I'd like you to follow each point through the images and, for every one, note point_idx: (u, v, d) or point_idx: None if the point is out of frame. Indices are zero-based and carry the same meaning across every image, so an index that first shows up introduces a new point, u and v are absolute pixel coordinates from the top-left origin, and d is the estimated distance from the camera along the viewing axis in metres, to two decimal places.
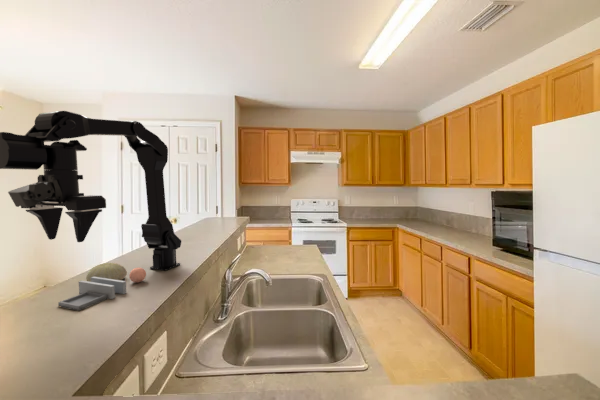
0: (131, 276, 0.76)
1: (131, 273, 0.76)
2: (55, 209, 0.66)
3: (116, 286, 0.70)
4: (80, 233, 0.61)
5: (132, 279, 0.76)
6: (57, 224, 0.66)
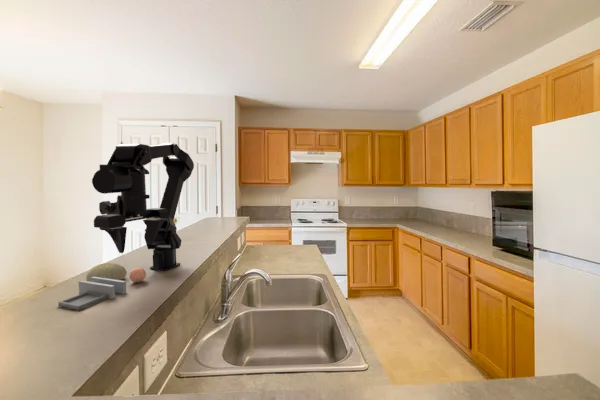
0: (131, 276, 0.76)
1: (131, 273, 0.76)
2: (154, 221, 0.81)
3: (116, 286, 0.70)
4: (117, 245, 0.72)
5: (132, 279, 0.76)
6: (153, 233, 0.81)
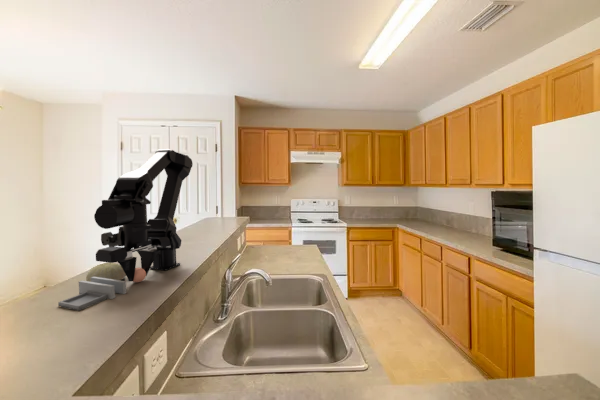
0: None
1: None
2: (148, 252, 0.79)
3: (116, 286, 0.70)
4: (127, 274, 0.75)
5: None
6: (147, 265, 0.79)
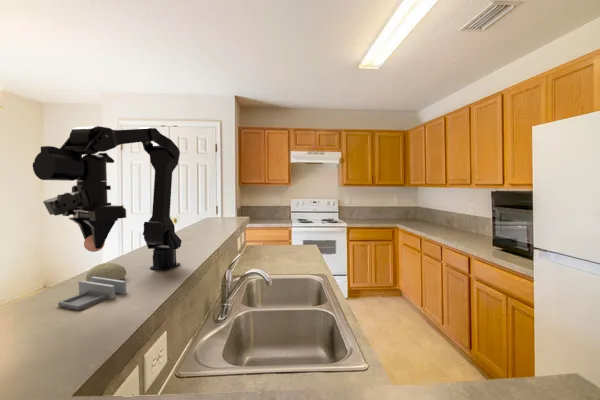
0: None
1: None
2: None
3: (116, 286, 0.70)
4: (97, 240, 0.65)
5: None
6: None
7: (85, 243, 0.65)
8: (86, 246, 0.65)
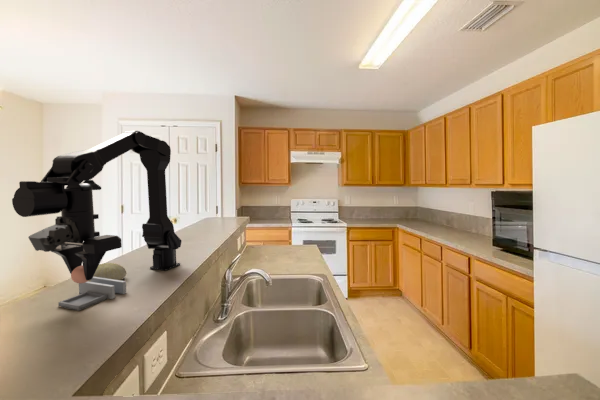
0: None
1: None
2: (78, 247, 0.66)
3: (116, 286, 0.70)
4: (89, 272, 0.63)
5: None
6: (80, 262, 0.67)
7: (74, 276, 0.63)
8: (75, 279, 0.63)
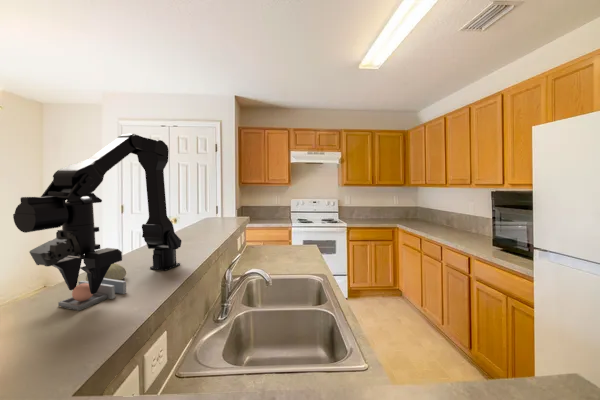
0: (89, 292, 0.64)
1: (86, 289, 0.64)
2: (75, 259, 0.67)
3: (116, 286, 0.70)
4: (94, 285, 0.63)
5: (89, 295, 0.65)
6: (77, 274, 0.67)
7: (75, 294, 0.63)
8: (76, 297, 0.63)
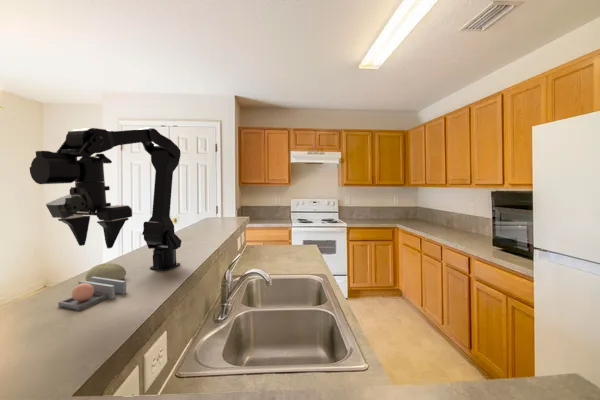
0: (88, 292, 0.64)
1: (86, 289, 0.64)
2: (84, 217, 0.71)
3: (116, 286, 0.70)
4: (109, 240, 0.67)
5: (89, 295, 0.65)
6: (86, 231, 0.71)
7: (75, 294, 0.63)
8: (76, 297, 0.63)
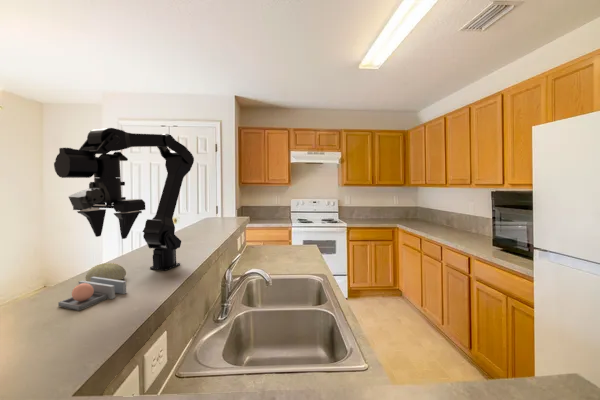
0: (88, 292, 0.64)
1: (86, 289, 0.64)
2: (100, 211, 0.77)
3: (116, 286, 0.70)
4: (124, 231, 0.72)
5: (89, 295, 0.65)
6: (102, 223, 0.77)
7: (74, 294, 0.63)
8: (76, 297, 0.63)
